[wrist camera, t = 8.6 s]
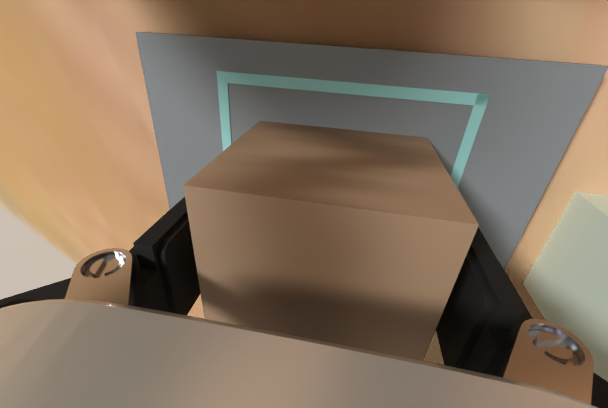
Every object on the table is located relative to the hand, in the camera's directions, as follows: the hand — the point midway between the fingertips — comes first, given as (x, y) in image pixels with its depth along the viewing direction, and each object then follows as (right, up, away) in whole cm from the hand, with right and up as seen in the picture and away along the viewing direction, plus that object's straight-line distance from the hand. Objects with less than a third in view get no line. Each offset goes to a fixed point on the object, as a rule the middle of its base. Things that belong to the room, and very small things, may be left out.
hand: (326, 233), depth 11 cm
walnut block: (0, +1, +2) cm, 3 cm away
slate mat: (+1, +2, +3) cm, 3 cm away
